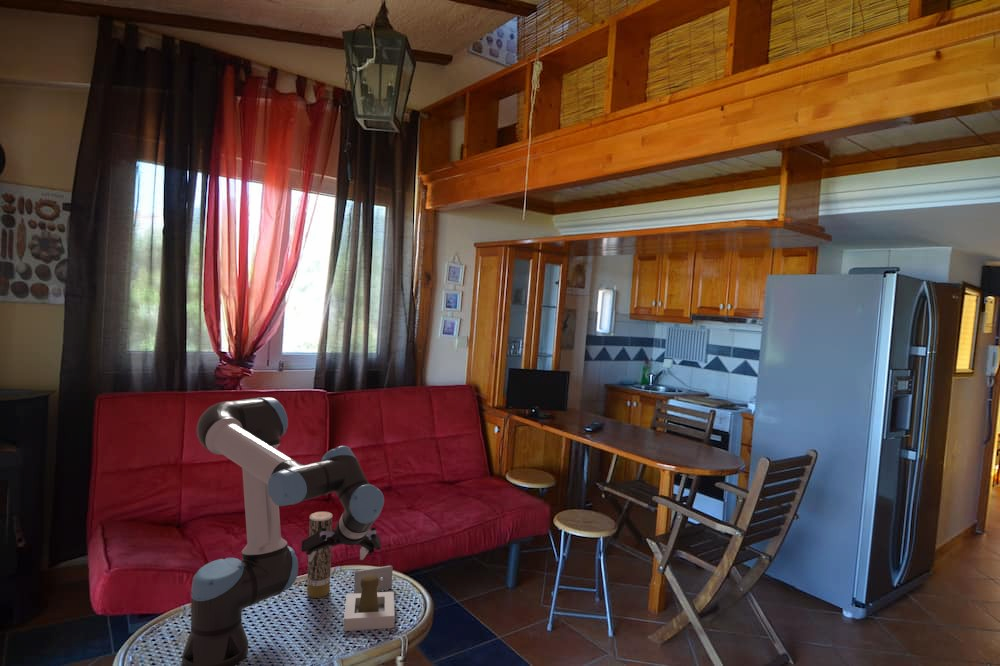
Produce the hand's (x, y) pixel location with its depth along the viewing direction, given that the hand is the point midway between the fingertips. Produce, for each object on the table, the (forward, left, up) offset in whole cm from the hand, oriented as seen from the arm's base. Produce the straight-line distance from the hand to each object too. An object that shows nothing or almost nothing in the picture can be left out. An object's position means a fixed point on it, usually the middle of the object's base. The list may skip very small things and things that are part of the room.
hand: (336, 555), depth 155 cm
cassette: (+10, +26, -24) cm, 37 cm away
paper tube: (-7, +27, -24) cm, 37 cm away
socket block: (+9, +12, -24) cm, 28 cm away
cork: (+9, +12, -23) cm, 27 cm away
